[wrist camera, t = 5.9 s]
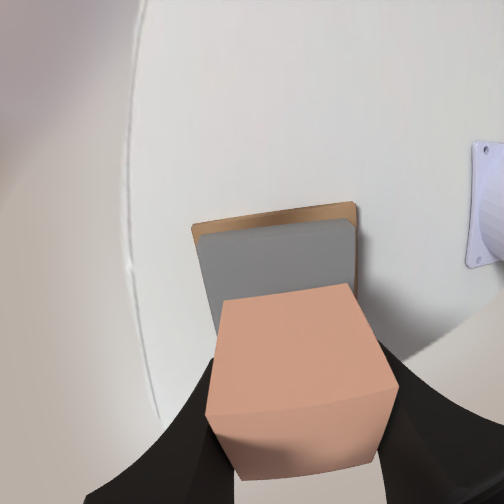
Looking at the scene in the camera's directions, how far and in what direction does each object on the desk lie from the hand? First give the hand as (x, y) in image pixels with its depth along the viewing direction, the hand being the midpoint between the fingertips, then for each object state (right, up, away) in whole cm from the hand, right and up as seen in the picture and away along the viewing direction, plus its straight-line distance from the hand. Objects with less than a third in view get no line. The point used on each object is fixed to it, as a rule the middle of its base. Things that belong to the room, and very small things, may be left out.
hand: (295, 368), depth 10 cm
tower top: (0, +2, +5) cm, 6 cm away
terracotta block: (0, +1, +1) cm, 2 cm away
